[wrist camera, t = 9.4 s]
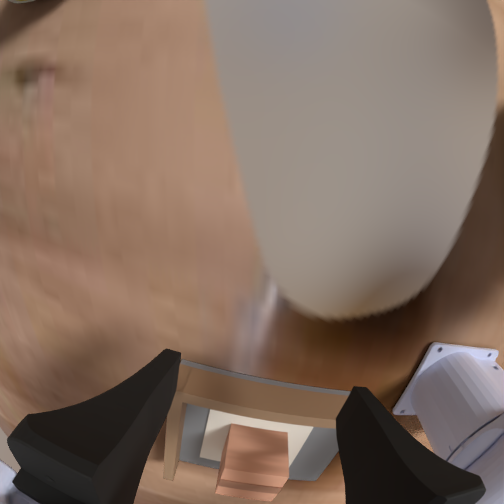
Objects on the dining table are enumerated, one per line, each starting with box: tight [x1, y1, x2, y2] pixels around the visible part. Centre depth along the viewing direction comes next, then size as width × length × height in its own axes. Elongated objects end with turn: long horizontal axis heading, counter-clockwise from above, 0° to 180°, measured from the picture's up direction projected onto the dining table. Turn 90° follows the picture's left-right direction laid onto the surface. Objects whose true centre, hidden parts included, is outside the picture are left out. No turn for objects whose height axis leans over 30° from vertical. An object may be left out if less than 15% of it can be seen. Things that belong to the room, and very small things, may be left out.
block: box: [215, 423, 289, 501], centre depth 21 cm, size 5×5×5 cm
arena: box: [163, 359, 351, 481], centre depth 23 cm, size 16×14×4 cm
